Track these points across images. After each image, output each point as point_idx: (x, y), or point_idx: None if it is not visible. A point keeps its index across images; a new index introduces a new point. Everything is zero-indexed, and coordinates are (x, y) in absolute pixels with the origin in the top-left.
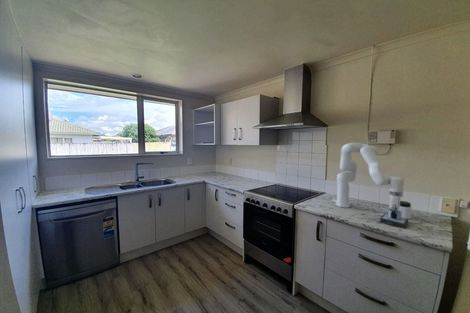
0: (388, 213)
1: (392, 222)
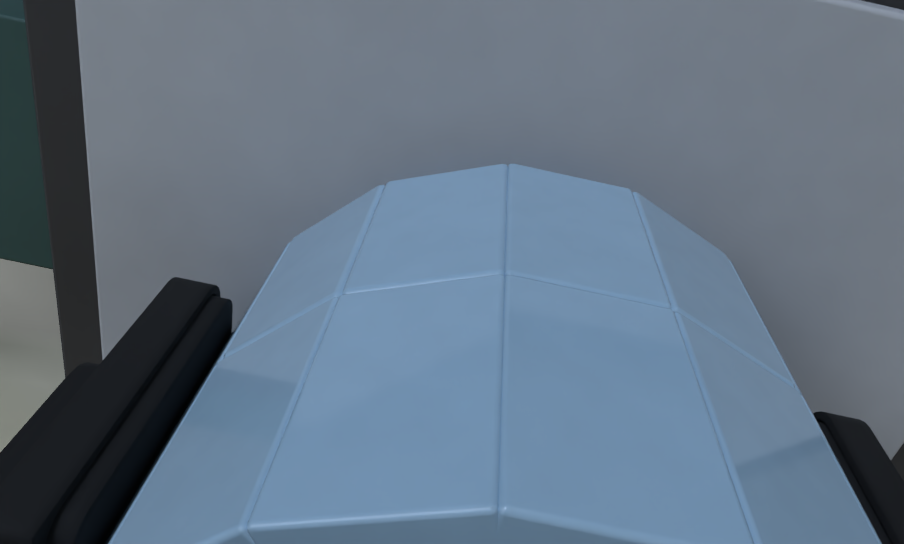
0: (394, 273)
1: (26, 243)
